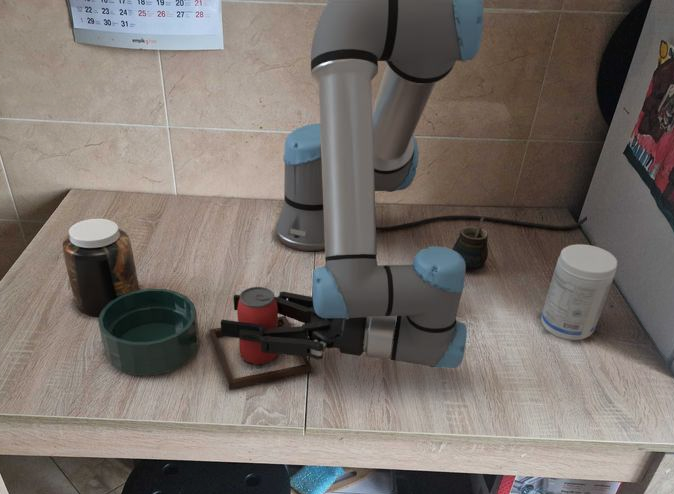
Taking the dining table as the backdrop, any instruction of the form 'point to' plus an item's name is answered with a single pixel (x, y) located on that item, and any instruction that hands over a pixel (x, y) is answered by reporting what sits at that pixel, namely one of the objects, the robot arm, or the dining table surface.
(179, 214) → the dining table surface
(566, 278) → the supplement tub
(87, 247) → the jar
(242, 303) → the beer can
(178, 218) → the dining table surface
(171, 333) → the green bowl
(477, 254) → the mate gourd
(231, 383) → the brown square frame
